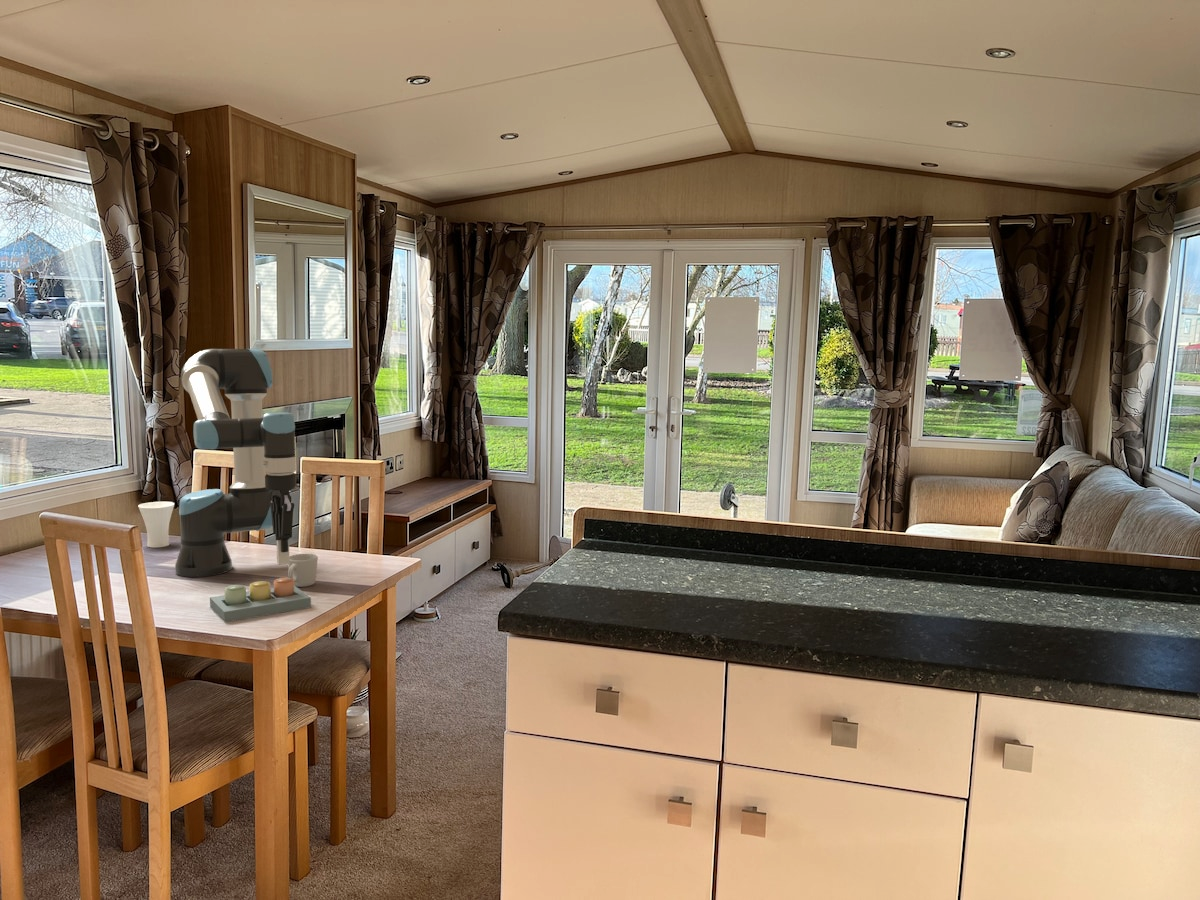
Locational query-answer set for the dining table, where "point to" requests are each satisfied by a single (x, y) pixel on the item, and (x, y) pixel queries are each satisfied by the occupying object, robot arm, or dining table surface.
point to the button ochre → (260, 591)
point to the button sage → (235, 595)
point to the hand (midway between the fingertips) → (283, 563)
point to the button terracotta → (283, 587)
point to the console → (259, 606)
